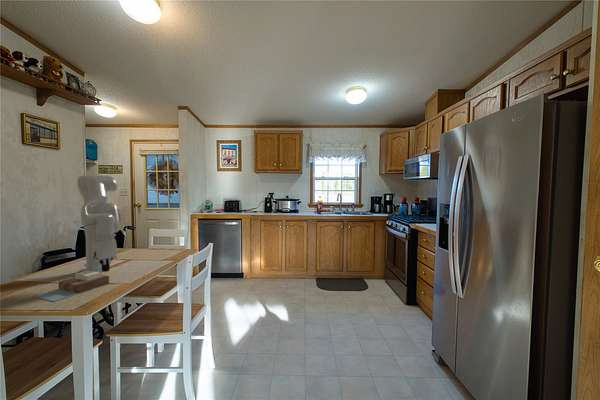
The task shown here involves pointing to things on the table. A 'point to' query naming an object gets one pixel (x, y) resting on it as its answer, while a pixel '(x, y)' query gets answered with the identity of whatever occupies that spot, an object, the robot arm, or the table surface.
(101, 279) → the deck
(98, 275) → the white rectangular block
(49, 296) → the mat
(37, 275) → the table surface
